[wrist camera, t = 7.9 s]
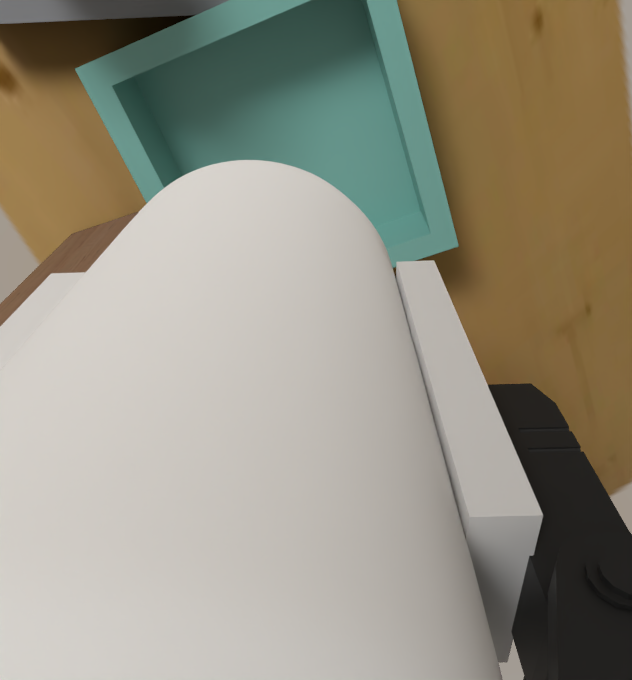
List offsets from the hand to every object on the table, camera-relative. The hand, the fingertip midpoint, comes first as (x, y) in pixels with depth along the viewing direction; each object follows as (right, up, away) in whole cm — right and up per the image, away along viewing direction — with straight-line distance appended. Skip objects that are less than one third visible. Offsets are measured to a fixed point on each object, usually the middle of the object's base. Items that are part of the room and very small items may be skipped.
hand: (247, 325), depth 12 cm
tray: (0, +9, +14) cm, 17 cm away
